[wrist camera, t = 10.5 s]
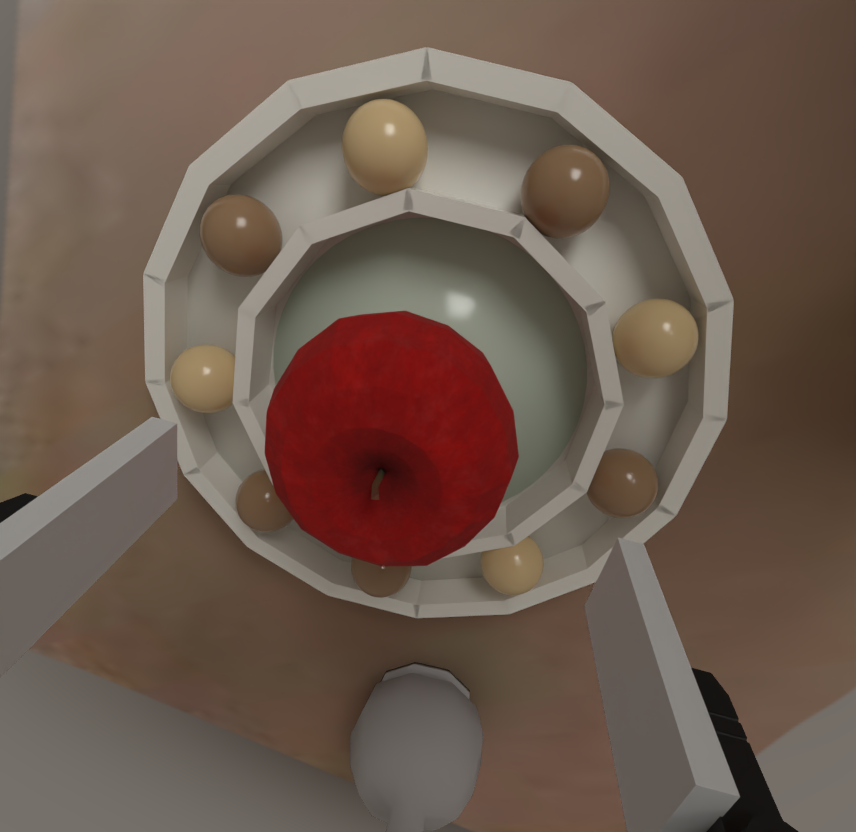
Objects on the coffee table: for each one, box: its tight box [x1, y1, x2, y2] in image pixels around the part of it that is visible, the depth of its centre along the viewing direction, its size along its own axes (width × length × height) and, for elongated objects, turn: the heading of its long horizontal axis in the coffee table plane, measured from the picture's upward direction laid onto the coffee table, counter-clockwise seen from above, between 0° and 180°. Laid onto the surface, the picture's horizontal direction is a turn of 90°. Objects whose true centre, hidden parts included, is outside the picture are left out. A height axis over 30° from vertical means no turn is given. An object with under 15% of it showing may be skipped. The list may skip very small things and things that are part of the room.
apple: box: [265, 311, 519, 567], centre depth 21 cm, size 10×10×11 cm
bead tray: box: [143, 47, 734, 618], centre depth 25 cm, size 27×27×4 cm
